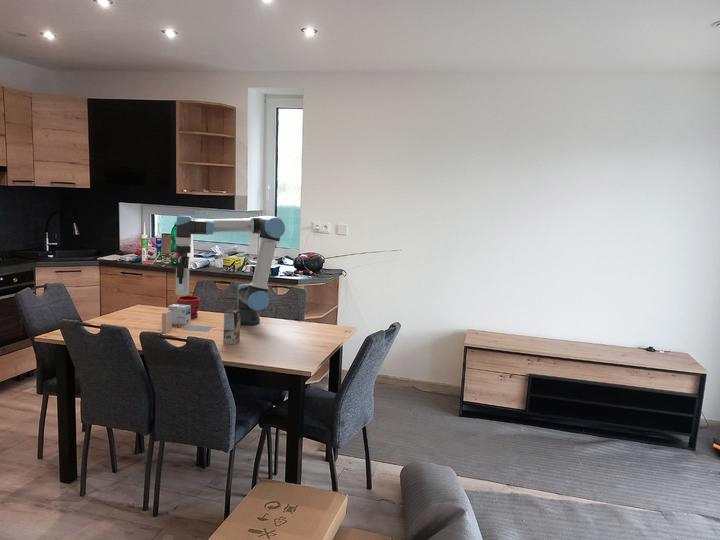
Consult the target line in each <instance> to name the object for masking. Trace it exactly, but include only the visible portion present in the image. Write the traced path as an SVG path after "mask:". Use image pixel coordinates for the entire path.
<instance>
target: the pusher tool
mask: <svg viewBox="0 0 720 540" xmlns="http://www.w3.org/2000/svg"><path fill="white" fill-rule="evenodd" d="M183 278H184V290H178V278H177V267H176V268H175V296H190V268H189V267H188V268H184V276H183Z"/></svg>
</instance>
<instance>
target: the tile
mask: <svg viewBox="0 0 720 540" xmlns="http://www.w3.org/2000/svg"><path fill="white" fill-rule="evenodd" d="M172 326H173V324H172V310H168V309H167V310H166V311H164V312H162V313H161V333H163V334H166V333H168V332H170V330H172V329H173V328H172Z"/></svg>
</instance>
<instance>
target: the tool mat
mask: <svg viewBox="0 0 720 540" xmlns="http://www.w3.org/2000/svg"><path fill="white" fill-rule="evenodd" d="M213 328H214V326H207V325H192V324H191V325H190V324H189V325H187V326H186V327H184V328H183V329H182V331H187V332H192V331H193V332H205V333H207V332H209V331H210V330H212V329H213Z"/></svg>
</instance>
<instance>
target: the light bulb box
mask: <svg viewBox="0 0 720 540" xmlns="http://www.w3.org/2000/svg"><path fill="white" fill-rule="evenodd" d="M167 310H172V325H174V324H175V325H183V326H185V325H188V324H190V323H191V318H190V312H191V305H182V304H181V305H178V304H177V303H176V304H175V303H173V304H171V305H168V309H167Z"/></svg>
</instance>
